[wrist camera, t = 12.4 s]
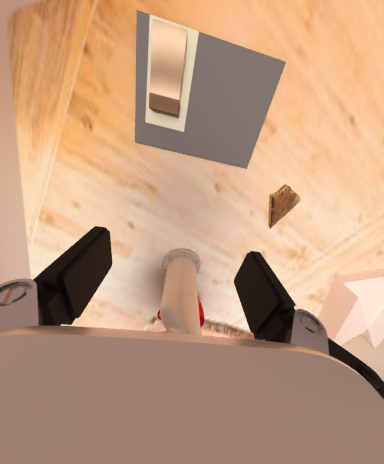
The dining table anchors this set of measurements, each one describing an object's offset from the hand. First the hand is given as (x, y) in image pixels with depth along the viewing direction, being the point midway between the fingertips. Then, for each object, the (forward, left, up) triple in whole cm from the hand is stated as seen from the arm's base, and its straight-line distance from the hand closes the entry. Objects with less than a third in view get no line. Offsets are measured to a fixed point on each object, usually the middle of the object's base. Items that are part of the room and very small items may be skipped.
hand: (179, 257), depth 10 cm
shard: (-2, -28, -31) cm, 42 cm away
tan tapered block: (+16, +6, -30) cm, 34 cm away
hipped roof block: (-40, -82, -31) cm, 96 cm away
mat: (+14, -1, -30) cm, 33 cm away
